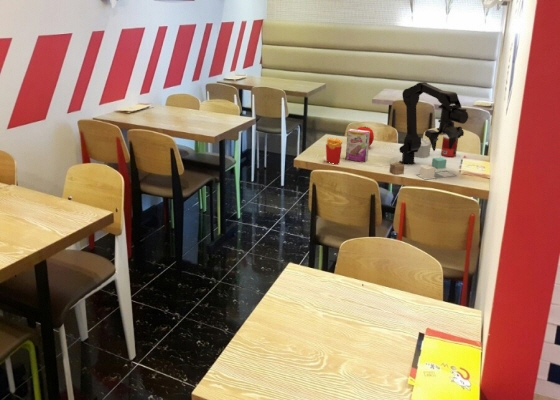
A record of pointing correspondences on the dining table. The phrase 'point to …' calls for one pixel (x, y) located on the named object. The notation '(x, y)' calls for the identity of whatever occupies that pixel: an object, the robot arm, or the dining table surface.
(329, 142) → the french fries
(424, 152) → the lumpy-topped squat cylinder
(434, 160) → the teal block
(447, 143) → the canned food
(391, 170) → the walnut block
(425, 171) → the block
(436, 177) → the slate board
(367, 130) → the tomato
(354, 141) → the candy bar box
